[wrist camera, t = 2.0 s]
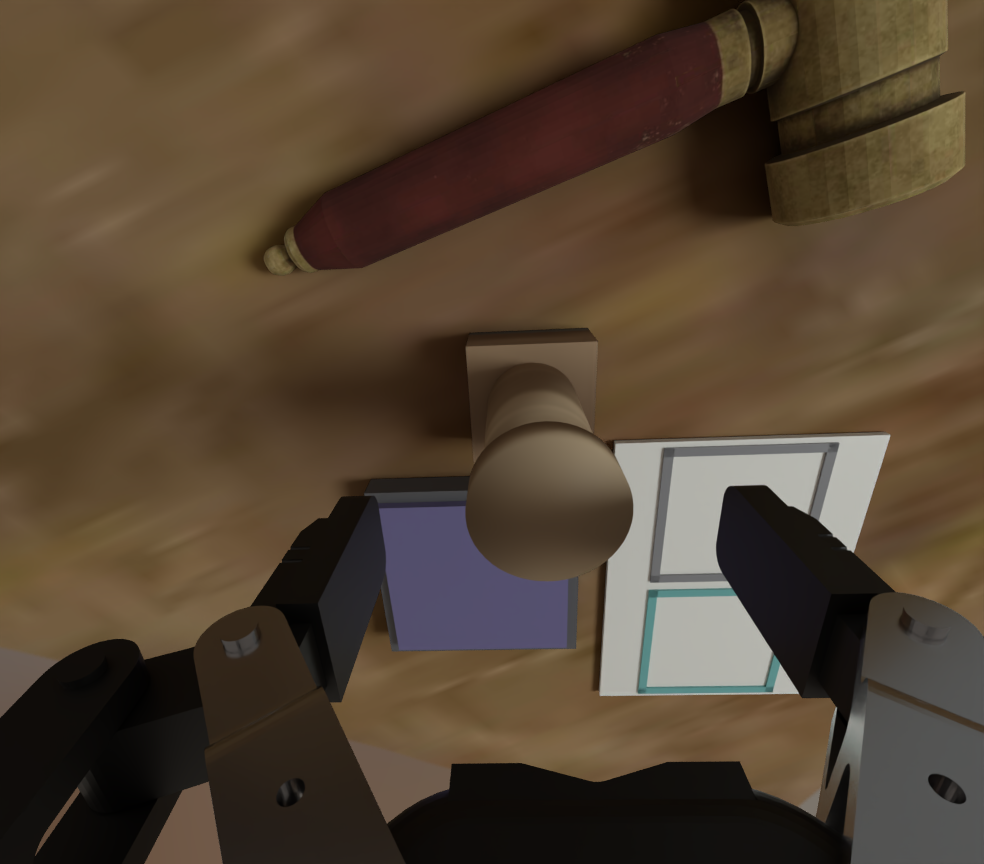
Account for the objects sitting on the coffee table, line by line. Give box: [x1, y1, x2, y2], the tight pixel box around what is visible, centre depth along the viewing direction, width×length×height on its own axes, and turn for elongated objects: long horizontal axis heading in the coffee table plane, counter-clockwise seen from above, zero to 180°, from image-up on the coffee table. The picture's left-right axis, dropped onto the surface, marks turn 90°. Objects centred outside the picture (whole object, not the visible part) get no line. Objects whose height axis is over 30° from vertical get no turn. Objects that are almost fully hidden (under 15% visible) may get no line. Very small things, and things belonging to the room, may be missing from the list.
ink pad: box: [364, 476, 578, 651], centre depth 22 cm, size 9×9×2 cm
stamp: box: [465, 328, 633, 581], centre depth 15 cm, size 4×4×9 cm
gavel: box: [264, 0, 965, 276], centre depth 15 cm, size 21×5×10 cm
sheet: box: [599, 432, 890, 696], centre depth 23 cm, size 15×11×1 cm
